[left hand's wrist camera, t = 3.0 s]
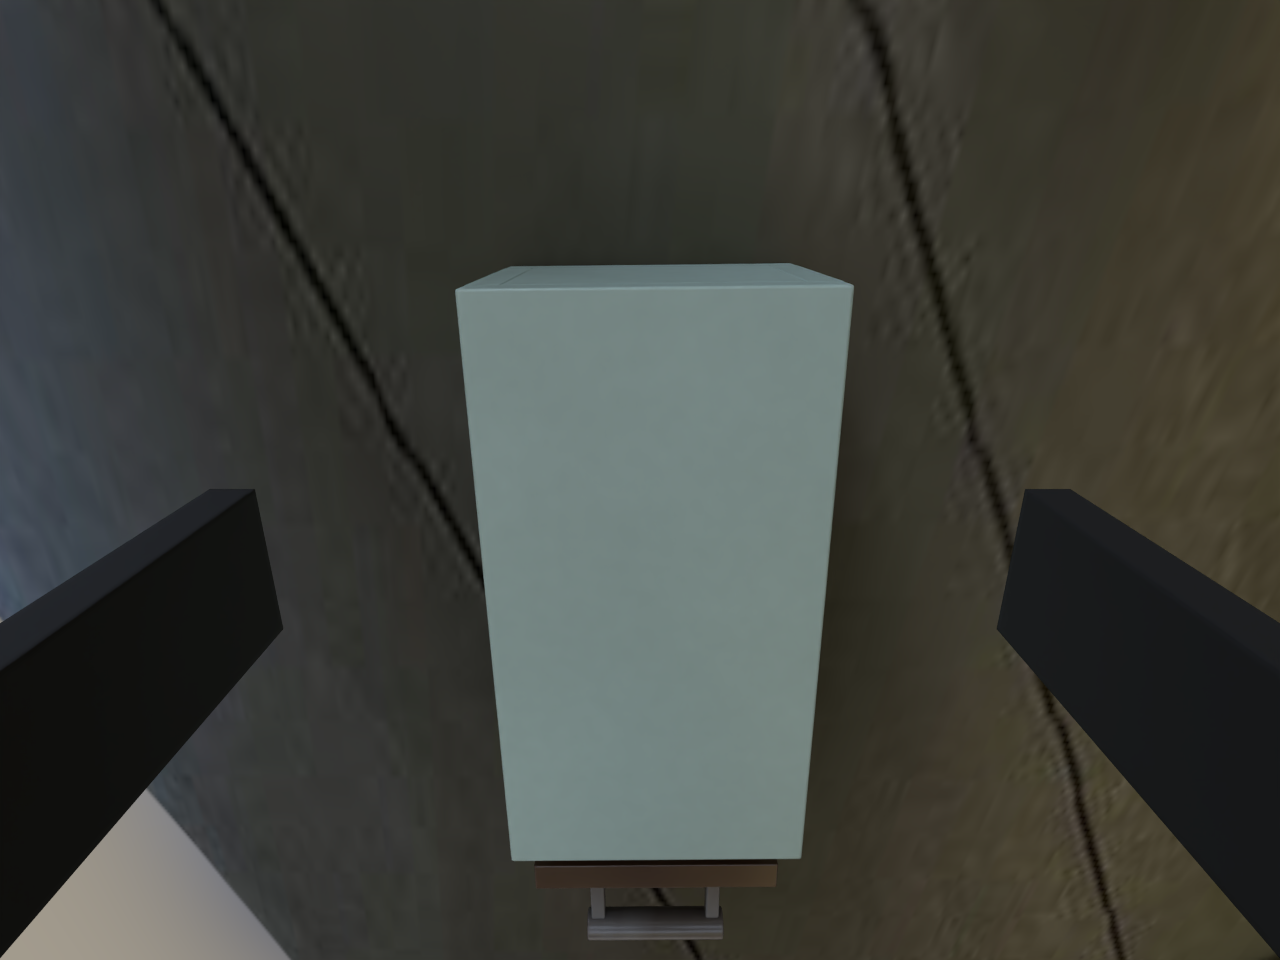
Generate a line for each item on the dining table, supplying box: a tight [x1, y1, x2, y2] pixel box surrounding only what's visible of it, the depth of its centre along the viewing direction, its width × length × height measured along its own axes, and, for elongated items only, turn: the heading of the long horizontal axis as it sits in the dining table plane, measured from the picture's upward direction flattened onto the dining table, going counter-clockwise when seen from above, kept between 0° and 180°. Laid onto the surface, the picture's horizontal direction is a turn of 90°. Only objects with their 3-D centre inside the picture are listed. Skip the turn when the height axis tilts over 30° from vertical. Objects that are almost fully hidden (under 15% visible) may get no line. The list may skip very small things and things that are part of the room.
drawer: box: [534, 859, 778, 940], centre depth 29 cm, size 25×10×6 cm, turn 1°
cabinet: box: [455, 263, 854, 861], centre depth 26 cm, size 20×11×8 cm, turn 1°
